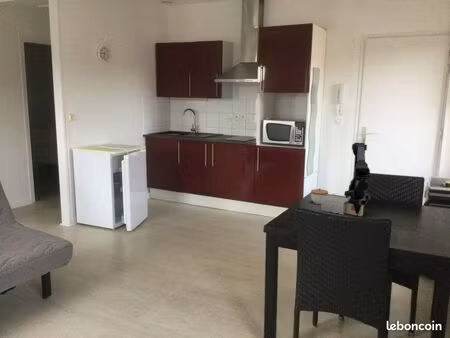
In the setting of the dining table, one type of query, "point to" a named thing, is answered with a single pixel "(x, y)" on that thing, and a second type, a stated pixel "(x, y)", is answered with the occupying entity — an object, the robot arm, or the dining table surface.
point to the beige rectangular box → (353, 210)
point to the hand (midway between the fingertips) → (358, 213)
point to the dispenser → (334, 204)
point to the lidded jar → (318, 195)
